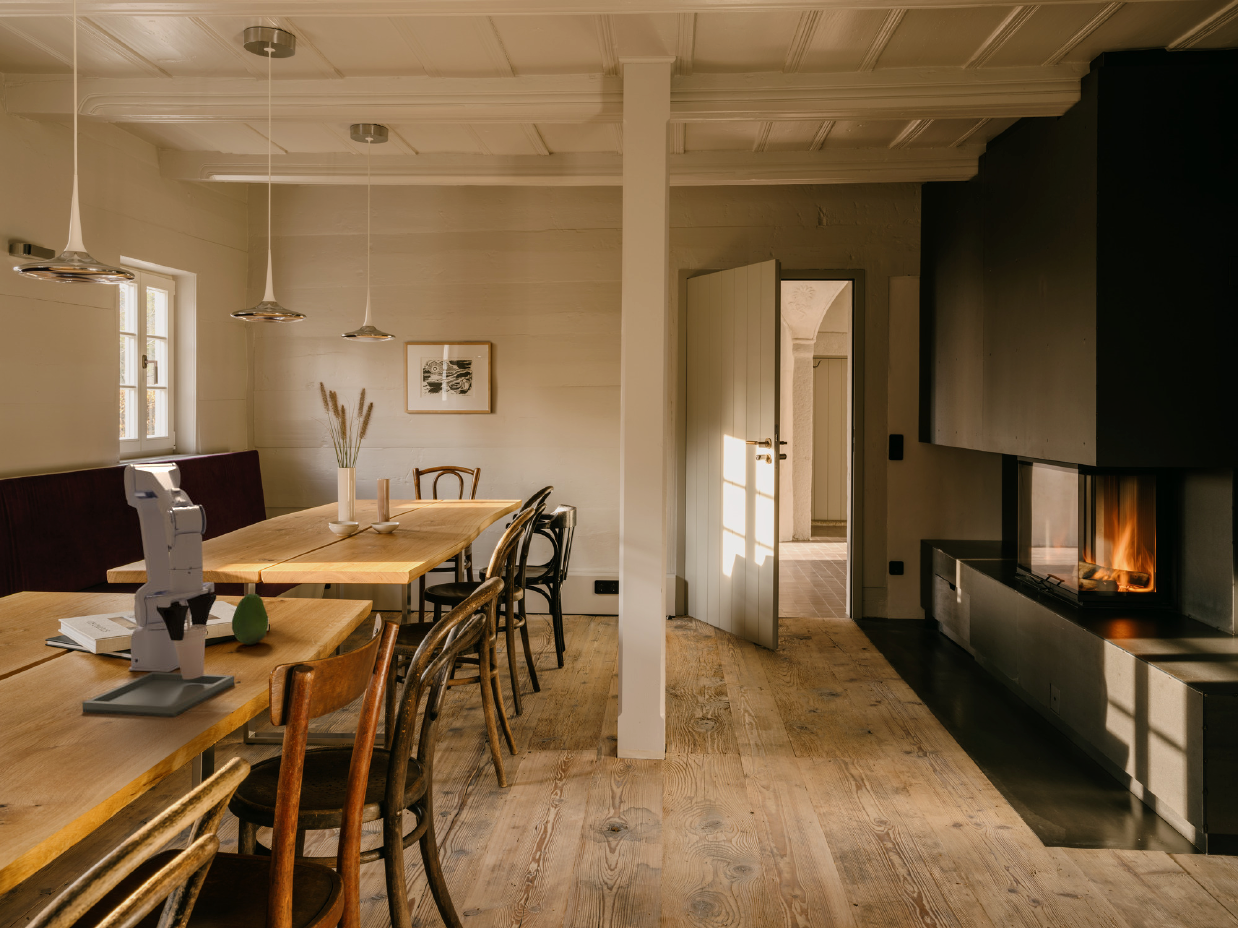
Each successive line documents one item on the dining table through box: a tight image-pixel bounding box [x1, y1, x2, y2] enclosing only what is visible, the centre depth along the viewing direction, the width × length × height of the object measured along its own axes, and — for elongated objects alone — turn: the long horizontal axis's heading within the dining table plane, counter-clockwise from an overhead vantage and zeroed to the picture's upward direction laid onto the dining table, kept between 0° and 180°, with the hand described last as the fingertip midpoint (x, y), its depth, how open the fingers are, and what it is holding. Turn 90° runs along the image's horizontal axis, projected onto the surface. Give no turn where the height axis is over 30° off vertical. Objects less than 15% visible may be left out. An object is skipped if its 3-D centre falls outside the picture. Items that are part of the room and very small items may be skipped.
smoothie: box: [174, 609, 208, 679], centre depth 160 cm, size 6×6×14 cm
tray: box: [82, 671, 235, 718], centre depth 155 cm, size 18×18×2 cm
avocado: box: [231, 593, 269, 646], centre depth 192 cm, size 8×8×12 cm
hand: (188, 635), depth 160 cm, fingers closed on smoothie, 6 cm apart
